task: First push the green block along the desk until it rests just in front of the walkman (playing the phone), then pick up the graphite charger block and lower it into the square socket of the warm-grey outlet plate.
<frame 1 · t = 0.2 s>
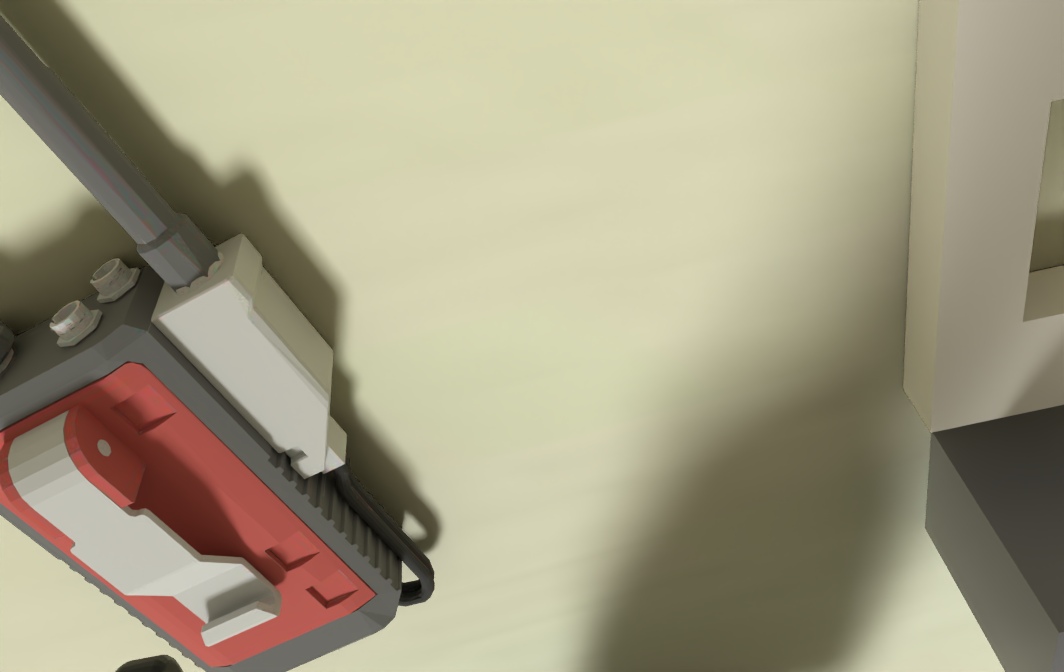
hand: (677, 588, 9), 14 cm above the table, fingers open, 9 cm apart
charger: (997, 466, 30), on the table
red-grey gadget: (154, 357, 25), on the table
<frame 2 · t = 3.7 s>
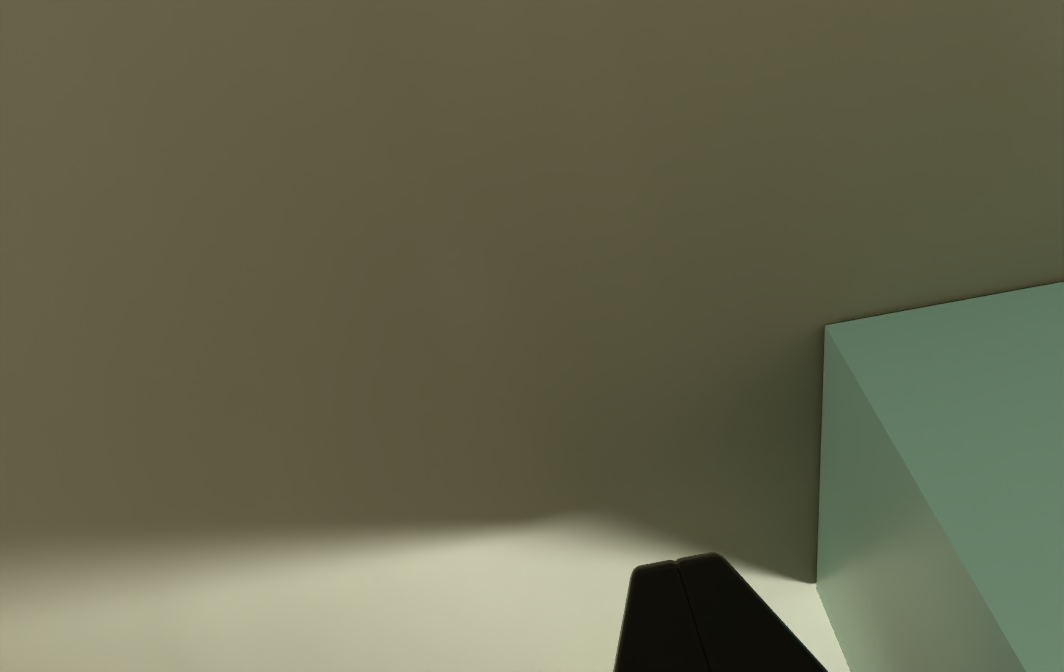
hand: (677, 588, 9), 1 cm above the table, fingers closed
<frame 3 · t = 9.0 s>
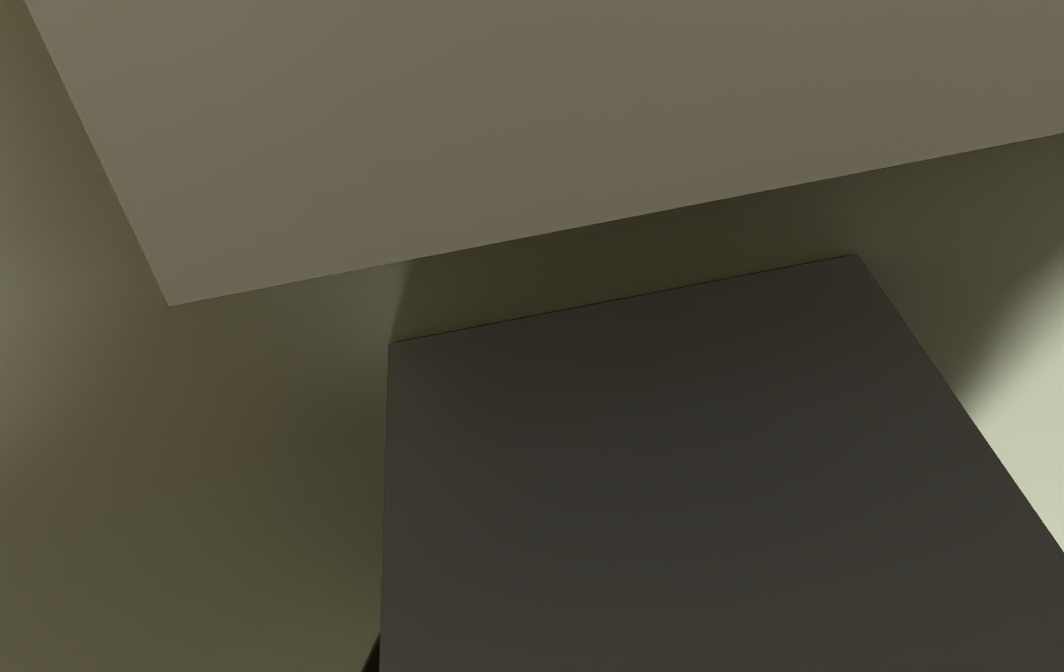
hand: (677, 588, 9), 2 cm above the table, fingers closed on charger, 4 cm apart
charger: (644, 467, 10), on the table, touching gripper
when the fingers open (3 cm above the table, at t = 13.7 s): charger drops 1 cm, resting in socket plate.
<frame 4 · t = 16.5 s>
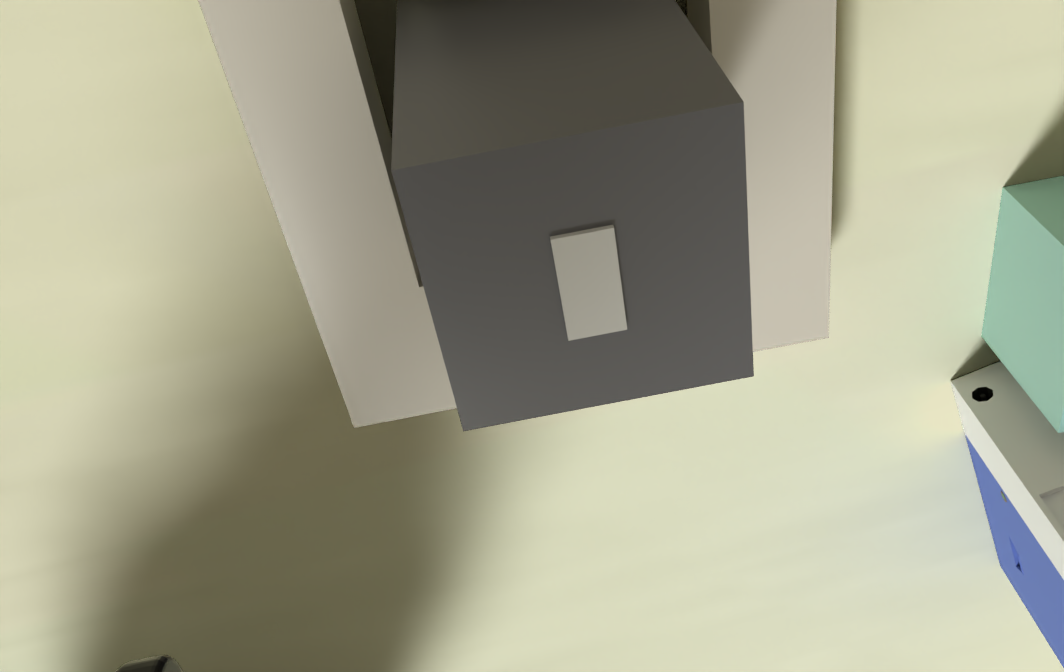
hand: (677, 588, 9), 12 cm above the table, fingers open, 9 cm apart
green block: (1063, 267, 22), on the table
socket plate: (535, 77, 18), on the table
walkman: (1021, 458, 26), on the table
charger: (535, 78, 18), resting in socket plate
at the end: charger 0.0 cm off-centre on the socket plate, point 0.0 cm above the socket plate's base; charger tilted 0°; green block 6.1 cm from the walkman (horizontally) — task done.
